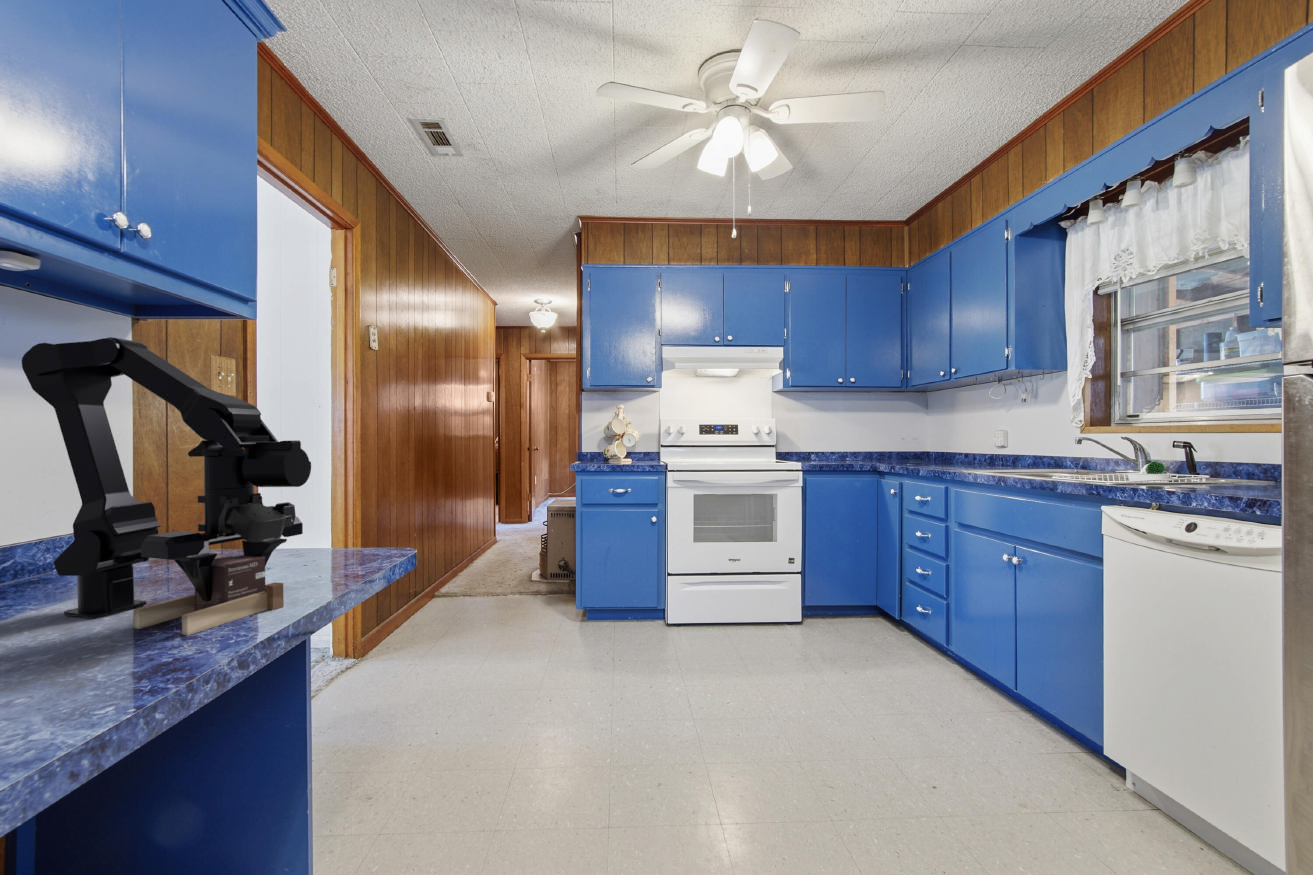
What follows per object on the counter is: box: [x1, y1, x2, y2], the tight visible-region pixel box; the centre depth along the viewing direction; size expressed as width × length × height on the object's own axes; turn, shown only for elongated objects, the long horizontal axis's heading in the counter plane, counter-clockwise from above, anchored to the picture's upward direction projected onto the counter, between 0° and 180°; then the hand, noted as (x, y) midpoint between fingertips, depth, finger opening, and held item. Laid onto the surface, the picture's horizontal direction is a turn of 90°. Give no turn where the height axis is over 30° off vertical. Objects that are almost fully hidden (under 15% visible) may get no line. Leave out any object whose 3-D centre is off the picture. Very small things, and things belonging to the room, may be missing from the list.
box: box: [194, 554, 266, 611], centre depth 78 cm, size 6×6×7 cm
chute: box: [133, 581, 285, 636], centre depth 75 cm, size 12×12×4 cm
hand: (231, 594), depth 78 cm, fingers closed on box, 6 cm apart
